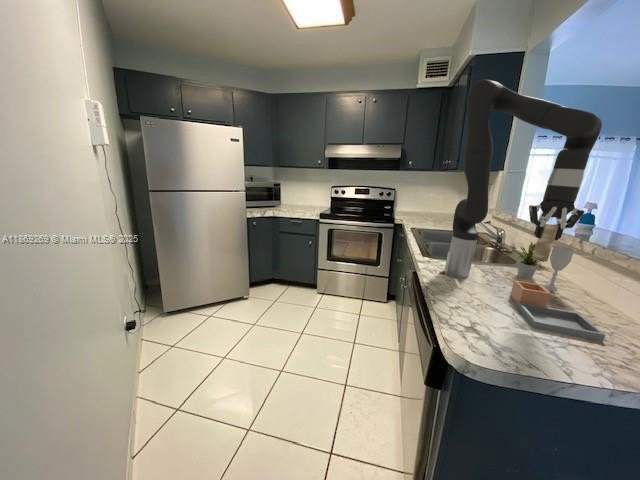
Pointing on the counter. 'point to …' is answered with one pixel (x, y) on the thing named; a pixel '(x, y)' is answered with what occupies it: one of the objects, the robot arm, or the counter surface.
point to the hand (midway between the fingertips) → (546, 238)
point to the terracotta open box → (529, 293)
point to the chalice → (559, 262)
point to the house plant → (527, 262)
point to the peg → (545, 242)
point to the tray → (560, 321)
